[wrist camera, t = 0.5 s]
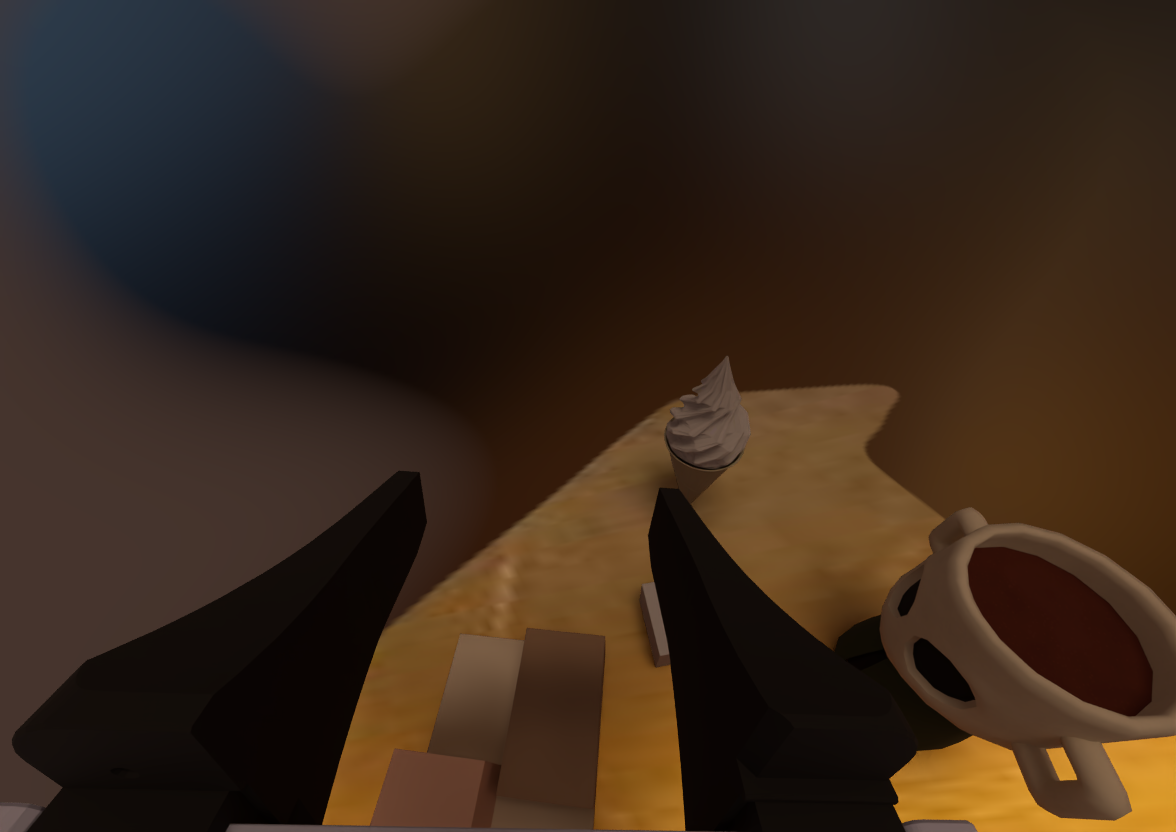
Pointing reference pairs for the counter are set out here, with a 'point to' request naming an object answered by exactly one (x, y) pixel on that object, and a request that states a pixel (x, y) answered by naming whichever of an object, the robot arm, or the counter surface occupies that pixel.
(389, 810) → the terracotta cube
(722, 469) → the ice cream cone
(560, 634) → the walnut bar
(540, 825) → the birch board
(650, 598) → the grey block
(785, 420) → the counter surface
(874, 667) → the character mug
